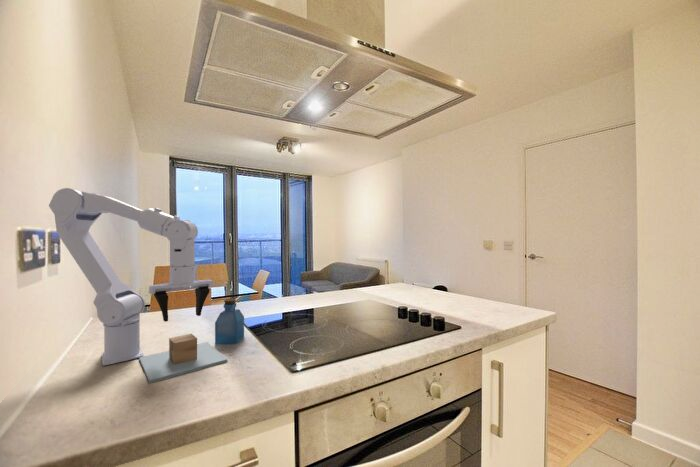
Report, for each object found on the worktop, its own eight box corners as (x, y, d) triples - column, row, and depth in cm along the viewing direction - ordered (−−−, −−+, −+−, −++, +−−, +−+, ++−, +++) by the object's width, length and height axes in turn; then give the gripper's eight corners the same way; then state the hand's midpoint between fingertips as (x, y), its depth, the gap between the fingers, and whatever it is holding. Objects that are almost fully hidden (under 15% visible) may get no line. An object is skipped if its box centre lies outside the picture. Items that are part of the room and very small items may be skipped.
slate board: (139, 359, 75) (139, 357, 75) (207, 344, 85) (207, 342, 85) (149, 383, 63) (149, 380, 63) (227, 361, 73) (227, 359, 73)
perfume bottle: (244, 336, 92) (243, 297, 92) (237, 343, 86) (236, 301, 86) (223, 337, 92) (223, 297, 92) (215, 344, 85) (215, 302, 86)
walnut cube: (169, 358, 74) (169, 338, 74) (191, 352, 78) (191, 333, 78) (174, 364, 71) (174, 343, 71) (197, 358, 74) (197, 338, 74)
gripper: (152, 269, 71) (152, 326, 71) (216, 265, 81) (216, 315, 80) (147, 267, 76) (147, 320, 76) (208, 263, 86) (208, 310, 86)
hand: (182, 317), depth 79 cm, fingers open, 7 cm apart
